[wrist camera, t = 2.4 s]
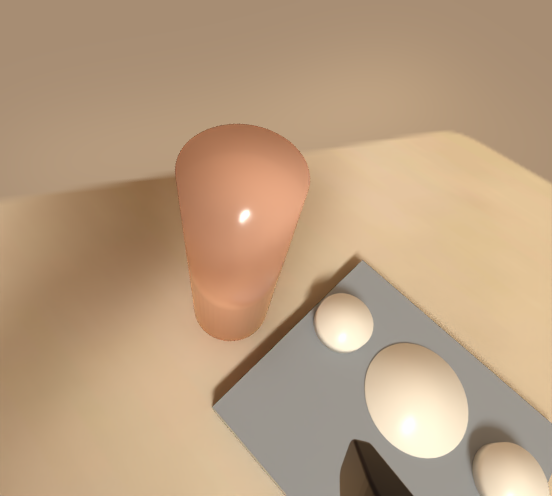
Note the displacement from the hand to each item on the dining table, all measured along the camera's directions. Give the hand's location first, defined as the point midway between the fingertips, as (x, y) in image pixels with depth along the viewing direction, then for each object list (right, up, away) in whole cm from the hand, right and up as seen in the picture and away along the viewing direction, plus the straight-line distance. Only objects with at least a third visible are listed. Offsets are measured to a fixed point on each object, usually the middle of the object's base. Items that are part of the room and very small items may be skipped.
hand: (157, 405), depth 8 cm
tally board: (+10, -7, +13) cm, 18 cm away
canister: (0, 0, +16) cm, 16 cm away
